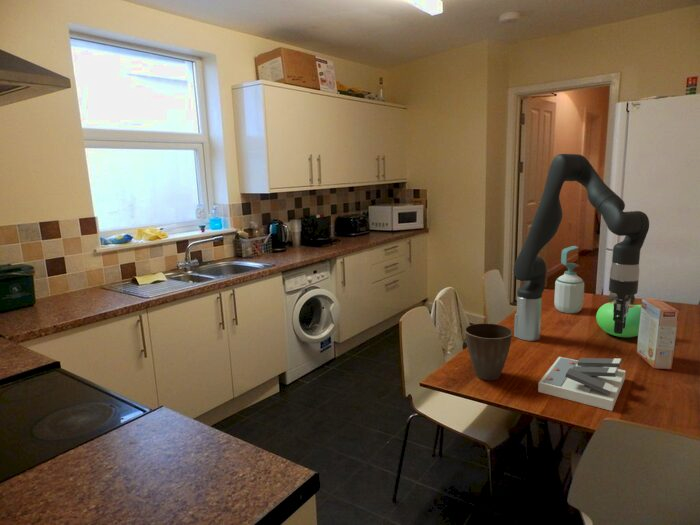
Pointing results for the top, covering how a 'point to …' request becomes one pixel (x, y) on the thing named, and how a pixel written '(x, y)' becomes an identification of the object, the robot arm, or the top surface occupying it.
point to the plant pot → (488, 348)
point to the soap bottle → (569, 287)
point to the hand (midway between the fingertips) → (619, 330)
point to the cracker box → (657, 333)
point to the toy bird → (606, 316)
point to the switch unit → (579, 385)
